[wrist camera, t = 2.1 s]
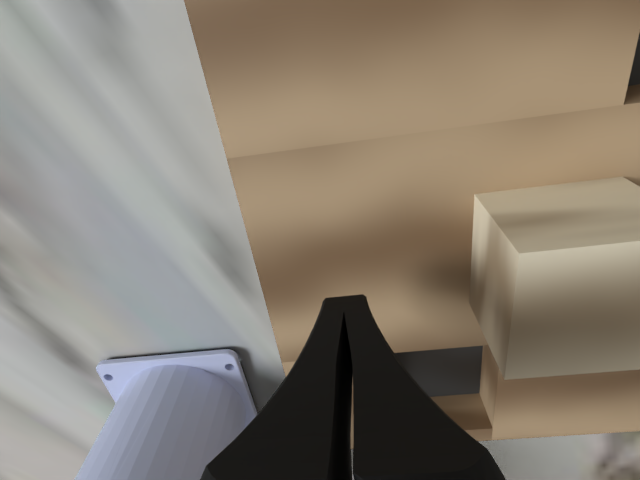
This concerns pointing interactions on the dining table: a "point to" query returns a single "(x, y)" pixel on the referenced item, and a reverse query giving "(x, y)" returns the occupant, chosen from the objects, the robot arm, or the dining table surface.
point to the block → (559, 277)
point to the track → (420, 170)
